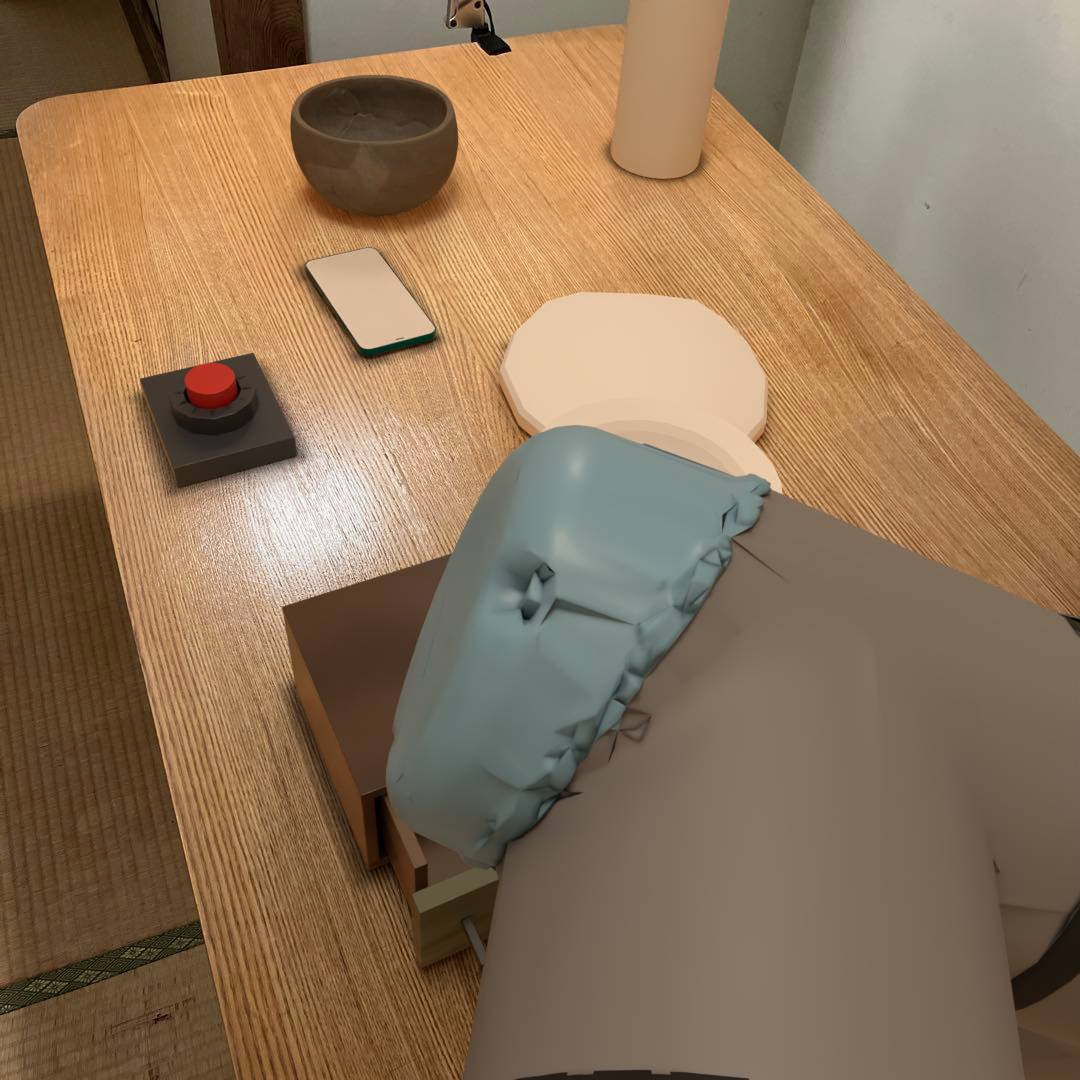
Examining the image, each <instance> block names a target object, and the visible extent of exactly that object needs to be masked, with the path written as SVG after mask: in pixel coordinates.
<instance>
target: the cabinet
mask: <svg viewBox="0 0 1080 1080" xmlns="http://www.w3.org/2000/svg"><path fill="white" fill-rule="evenodd" d="M451 555H452V552H451V553H448V554H445V555H442V556H438V557H435V558H433V559H429V560H426V561H422V562H419V563H417V564H414V565H413V564H412V565H410V566H407V567H404V568H400V569H397V570H394V571H391V572H387V573H385V574H381V575H378V576H375V577H371V578H369V579H365V580H362V581H359V582H356V583H353V584H350V585H347V586H342V587H340V588H337V589H334V590H331V591H326V592H324V593H321V594H318V595H314V596H311V597H309V598H305V599H301V600H299V601H296V602H295V601H294V602H292V603H290V604H286V605H283V606H281V611H282V615H283V621H284V627H285V632H286V633H285V634H286V638H287V644H288V649H289V656H290V660H291V661H290V662H291V668H292V673H293V679H294V685H295V689H296V694H297V696H298V700H299V701H300V703H301V706H302V708H303V711H304V714H305V716H306V719H307V722H308V723H309V726H310V729H311V731H312V734H313V736H314V739H315V741H316V743H317V746H318V749H319V751H320V753H321V756H322V758H323V762H324V763H325V766H326V769H327V771H328V773H329V776H330V778H331V781H332V784H333V786H334V788H335V791H336V793H337V796H338V799H339V801H340V802H341V807H342V808H343V811H344V813H345V816H346V819H347V821H348V823H349V826H350V828H351V831H352V833H353V837H354V839H355V840H356V844H357V846H358V848H359V851H360V853H361V855H362V858H363V860H364V864H365V865H366V868H367V871H368V872H371V871H373V870H376V869H379V868H381V867H383V866H386V865H389V864H391V861H390V859H389V856H388V854H387V852H386V849H385V847H384V844H383V842H382V840H381V837H380V835H379V832H378V830H377V821H376V810H375V799H374V798H375V797H378V796H381V795H383V794H386V793H387V786H386V767H387V762H388V756H389V752H390V749H391V746H392V743H393V741H394V735H393V732H392V729H393V723H394V718H395V714H396V710H397V706H398V702H399V698H400V695H401V692H402V688H403V685H404V682H405V678H406V675H407V672H408V669H409V666H410V663H411V660H412V657H413V654H414V650H415V647H416V644H417V641H418V638H419V635H420V633H421V630H422V627H423V624H424V622H425V619H426V616H427V614H428V611H429V608H430V606H431V603H432V600H433V598H434V595H435V592H436V590H437V588H438V585H439V583H440V580H441V578H442V576H443V573H444V571H445V568H446V566H447V564H448V561H449V559H450V557H451Z"/></svg>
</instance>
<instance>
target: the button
mask: <svg viewBox="0 0 1080 1080" xmlns="http://www.w3.org/2000/svg"><path fill="white" fill-rule="evenodd" d="M201 364H202V365H201ZM201 364H198V365H199V366H197V365H195V366H196V367H194V368H193V369H191V370H190V371H189V372H188V373H187V375H186V377H185V385H186V390H187V394H188V398H189V401H190V402H191V403H192V404H193V405H194V406H196V407H198V408H203V409H217V408H221V407H225V406H227V405H229V404H230V403H232V402H233V401H234V400H235V399H236V397H237V386H236V380H235V375H234V372H233V371H232V370H231V369H230V368H229V367H228V366H226V365H223V364H219V363H210V362H206V363H201Z"/></svg>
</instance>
